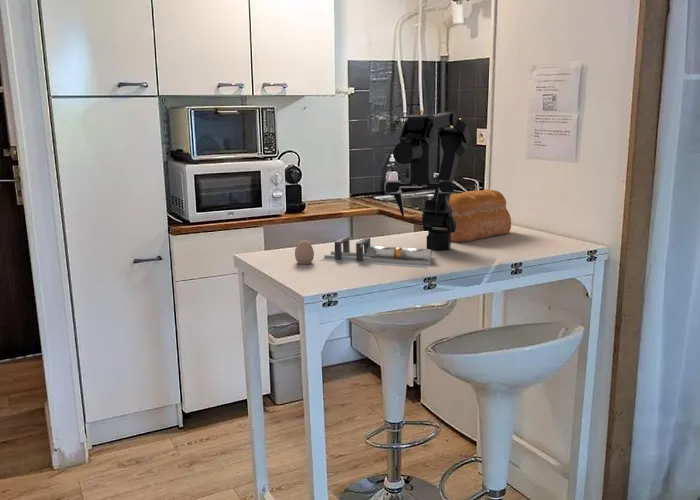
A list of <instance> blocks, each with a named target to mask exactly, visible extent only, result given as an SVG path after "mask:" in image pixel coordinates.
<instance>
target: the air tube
mask: <svg viewBox="0 0 700 500" xmlns="http://www.w3.org/2000/svg"><path fill="white" fill-rule="evenodd" d="M367 257H368V258H383V259H398V260H413V261H428V262H431V260H432V257H433V250H431V249H427V248H415V247H413V248H412V247H397V246H378V245H370V246H368V248H367Z"/></svg>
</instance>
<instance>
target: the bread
mask: <svg viewBox="0 0 700 500" xmlns="http://www.w3.org/2000/svg"><path fill="white" fill-rule="evenodd" d="M449 203H450V205H451V208H452V216H453V218H454V220H455V222H456V231H455V232H454V233H451V242H457V243H465V242H470V241H471V242H472V241H475V240H479V239H486V238H489V237H494V236H500V235H506V234H508V233H509V232H510V231H511V228H512V218H511V215H510V213H509V211H508V209H507V200H506V198H505V196H504V195H503V193H501V192H500V191H498V190H495V189H482V190H479V189H478V190H469V191H464V192H461V193H451V195H450V200H449Z"/></svg>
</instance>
